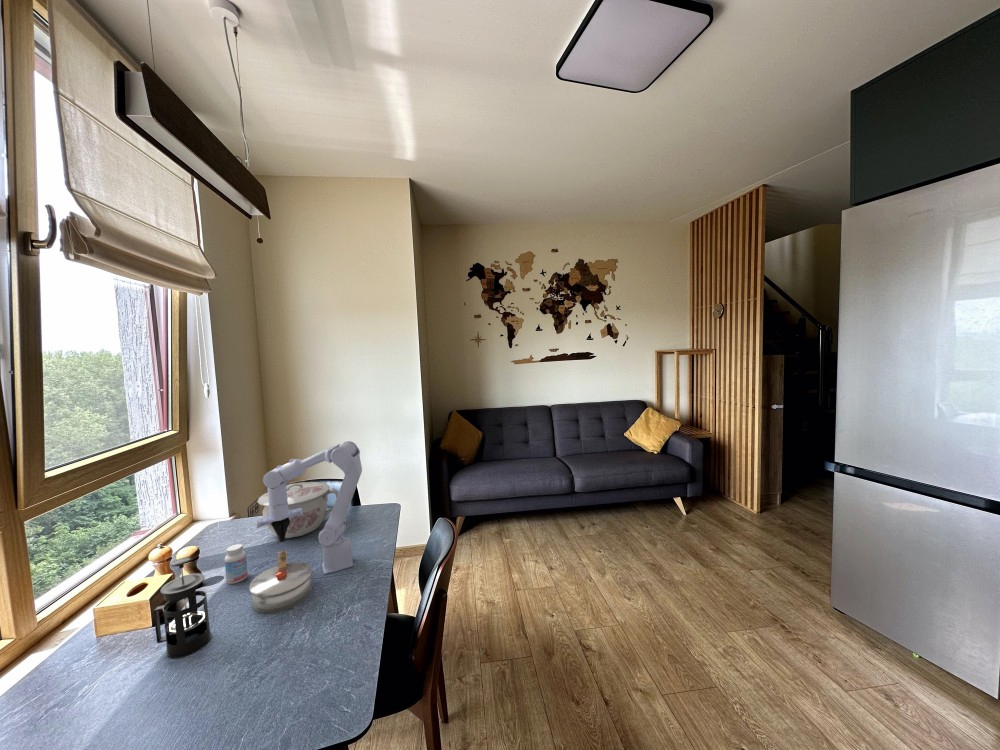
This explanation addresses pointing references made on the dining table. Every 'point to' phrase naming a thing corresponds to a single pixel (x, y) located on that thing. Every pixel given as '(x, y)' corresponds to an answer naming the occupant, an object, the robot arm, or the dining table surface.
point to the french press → (183, 614)
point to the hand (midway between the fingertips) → (281, 540)
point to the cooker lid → (280, 578)
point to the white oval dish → (282, 600)
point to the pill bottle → (235, 564)
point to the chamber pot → (303, 507)
